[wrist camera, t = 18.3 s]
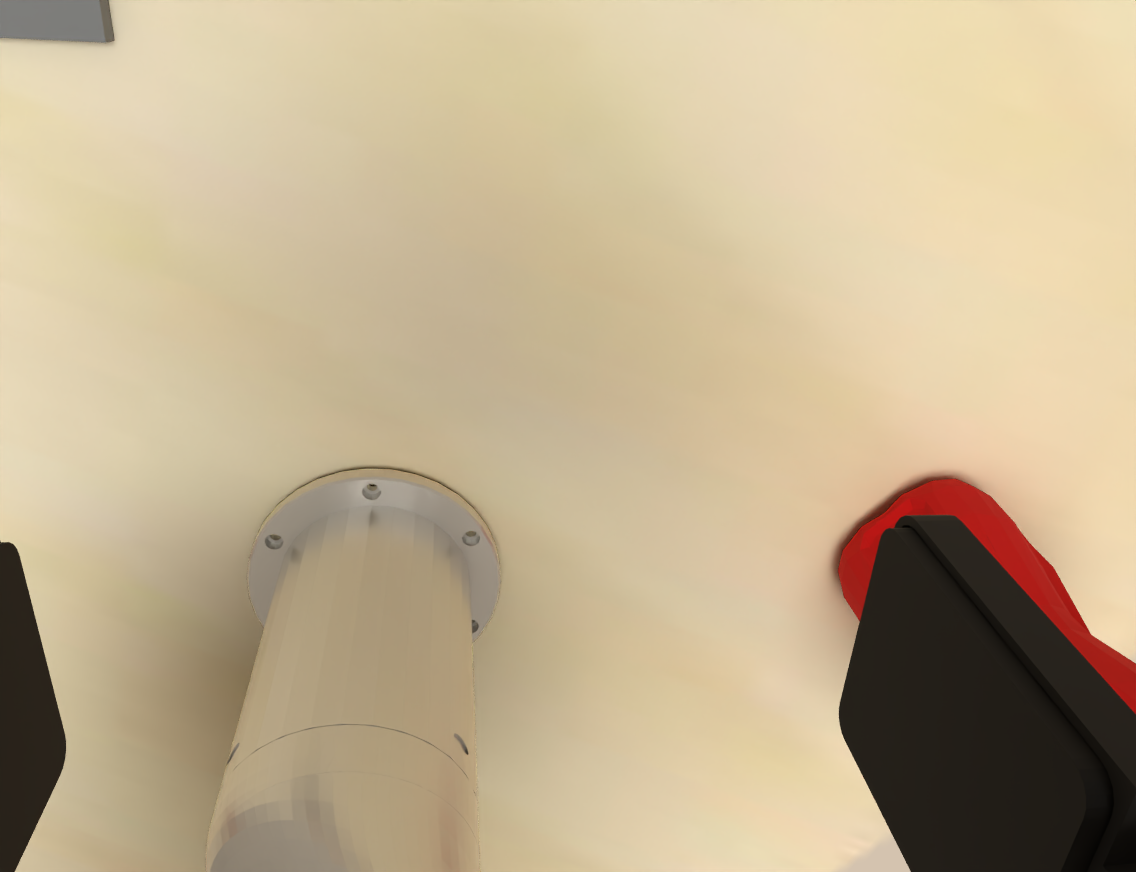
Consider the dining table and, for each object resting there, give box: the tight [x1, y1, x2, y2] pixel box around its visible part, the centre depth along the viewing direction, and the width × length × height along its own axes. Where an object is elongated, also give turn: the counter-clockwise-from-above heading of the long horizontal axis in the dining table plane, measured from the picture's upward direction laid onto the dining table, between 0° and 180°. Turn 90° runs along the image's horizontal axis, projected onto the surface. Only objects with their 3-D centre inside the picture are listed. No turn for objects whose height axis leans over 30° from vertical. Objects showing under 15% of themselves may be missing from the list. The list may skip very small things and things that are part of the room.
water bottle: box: [838, 479, 1136, 714], centre depth 41 cm, size 9×11×25 cm
